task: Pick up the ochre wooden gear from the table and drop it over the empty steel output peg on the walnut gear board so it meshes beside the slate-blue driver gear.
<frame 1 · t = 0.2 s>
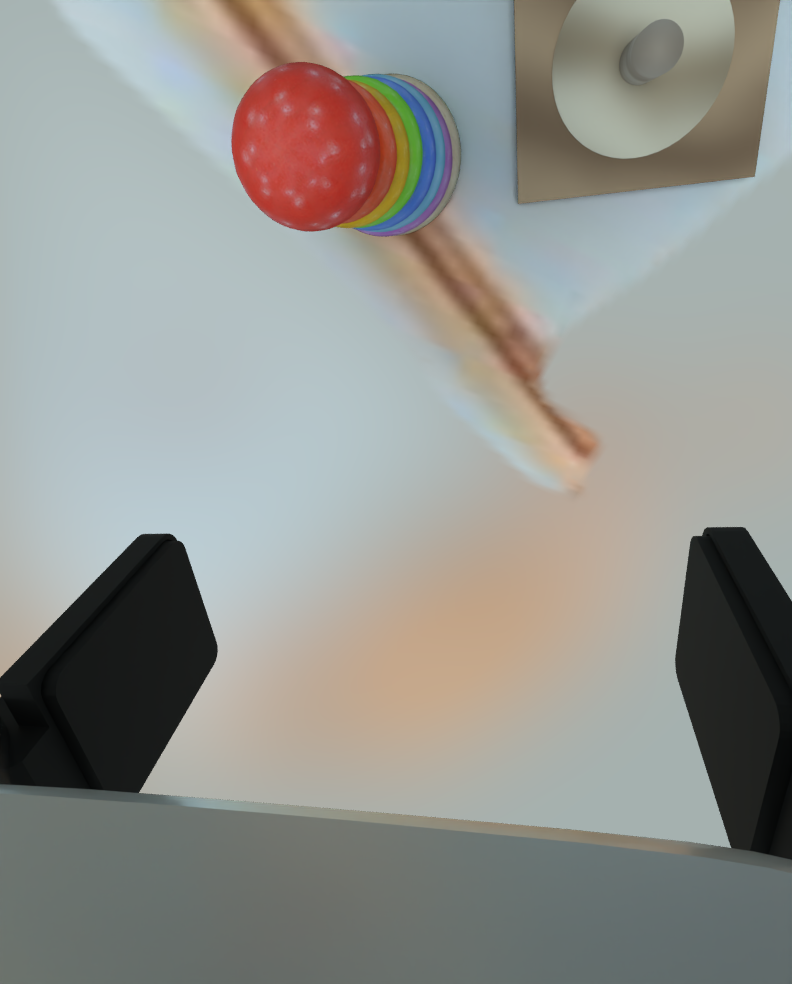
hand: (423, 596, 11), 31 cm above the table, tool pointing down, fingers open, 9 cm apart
stacking toy: (394, 159, 35), on the table
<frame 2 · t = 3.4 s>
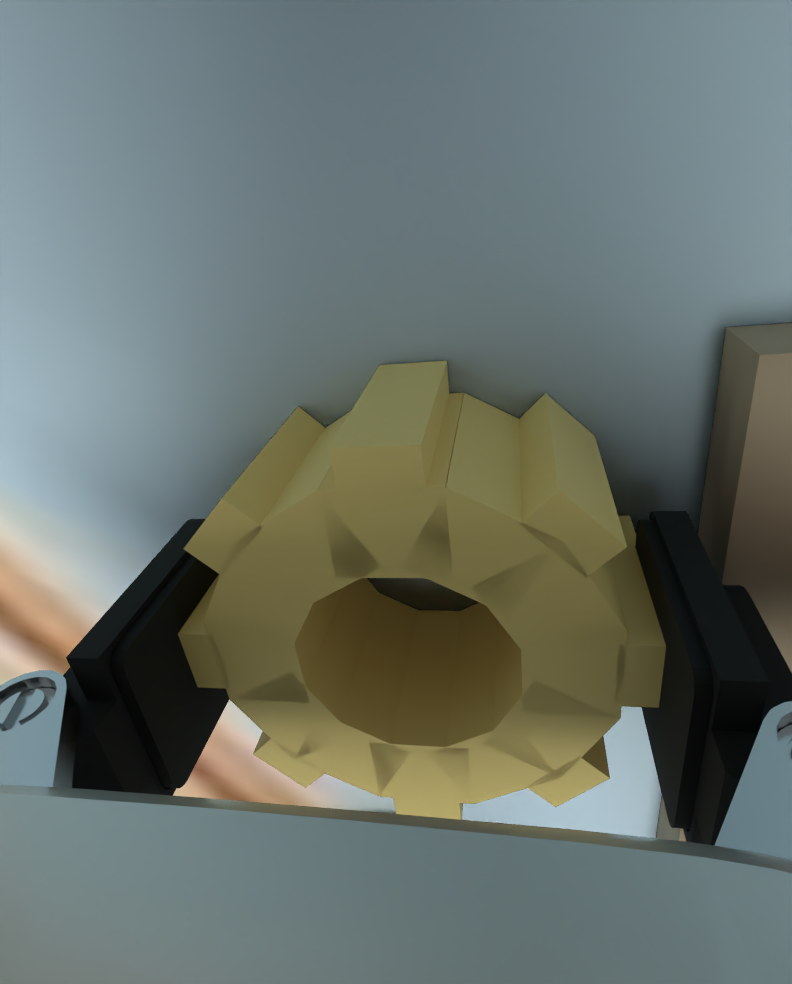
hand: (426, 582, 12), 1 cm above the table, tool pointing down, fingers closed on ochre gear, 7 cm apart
ochre gear: (432, 543, 12), on the table, touching gripper
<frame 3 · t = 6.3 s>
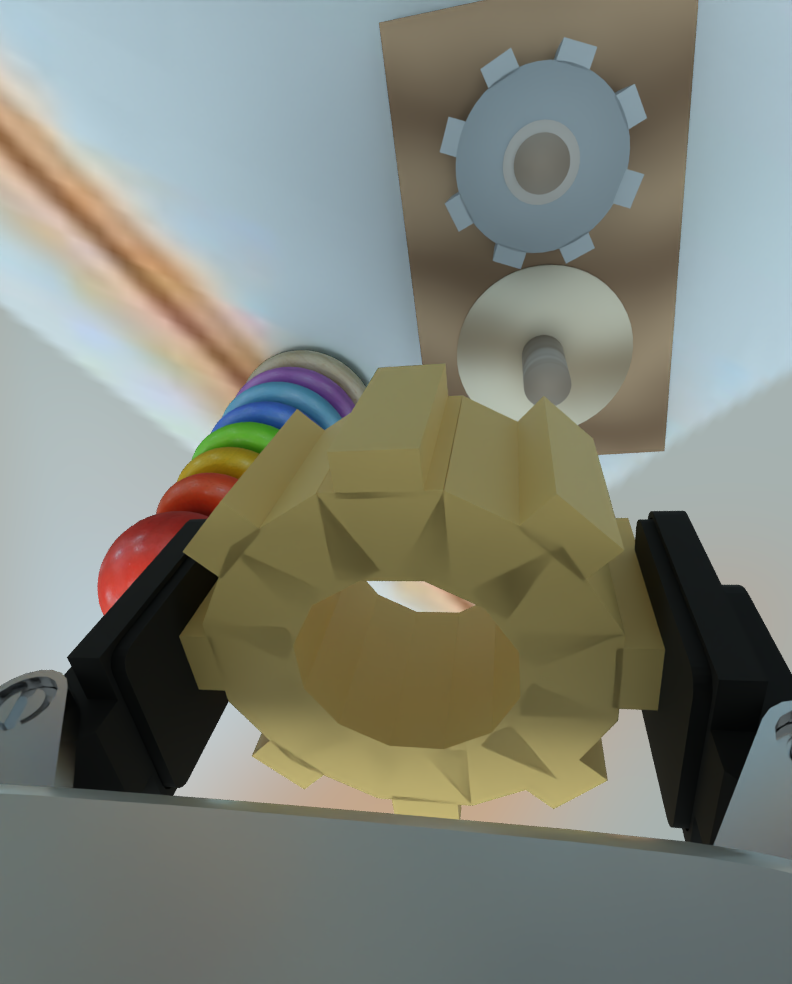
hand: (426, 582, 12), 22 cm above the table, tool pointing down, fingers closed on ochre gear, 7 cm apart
gear board: (538, 258, 29), on the table
stacking toy: (313, 411, 36), on the table
slate gear: (536, 160, 26), resting on gear board
ochre gear: (430, 545, 12), point 21 cm above the table, touching gripper
when the fingers open (3 cm above the table, at t = 9.7 s): ochre gear stays where it is, resting on gear board.
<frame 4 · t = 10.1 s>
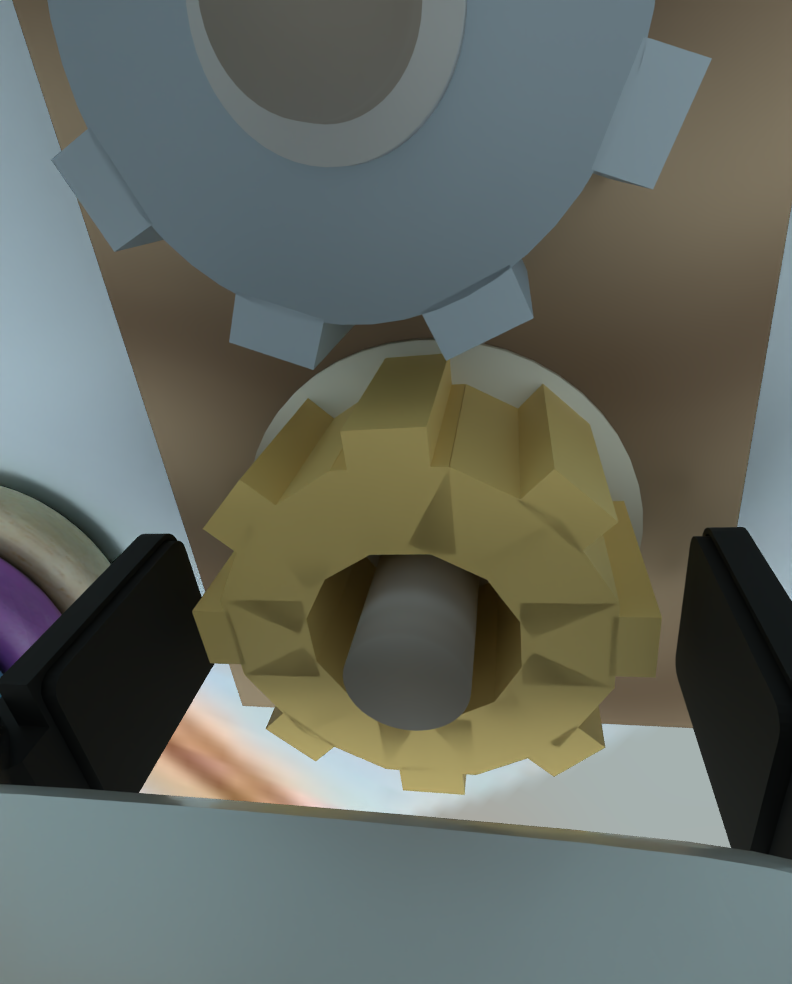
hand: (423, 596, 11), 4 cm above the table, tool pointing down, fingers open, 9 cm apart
gear board: (427, 317, 13), on the table
stacking toy: (29, 581, 19), on the table
slate gear: (389, 59, 9), resting on gear board
ochre gear: (435, 529, 13), point 2 cm above the table, touching gear board
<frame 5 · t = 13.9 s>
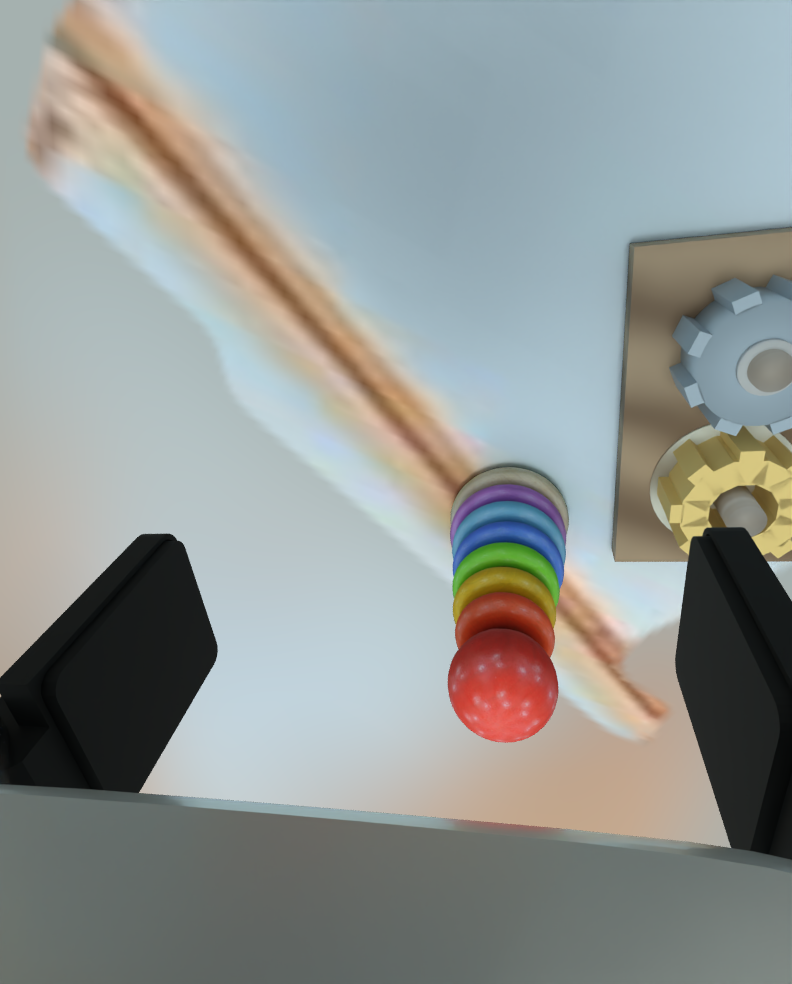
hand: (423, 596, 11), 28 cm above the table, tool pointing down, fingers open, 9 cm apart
gear board: (724, 410, 37), on the table
stacking toy: (508, 512, 43), on the table
slate gear: (743, 347, 33), resting on gear board
ochre gear: (723, 483, 37), point 2 cm above the table, touching gear board
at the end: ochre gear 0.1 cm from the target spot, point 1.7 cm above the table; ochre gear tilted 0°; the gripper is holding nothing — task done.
